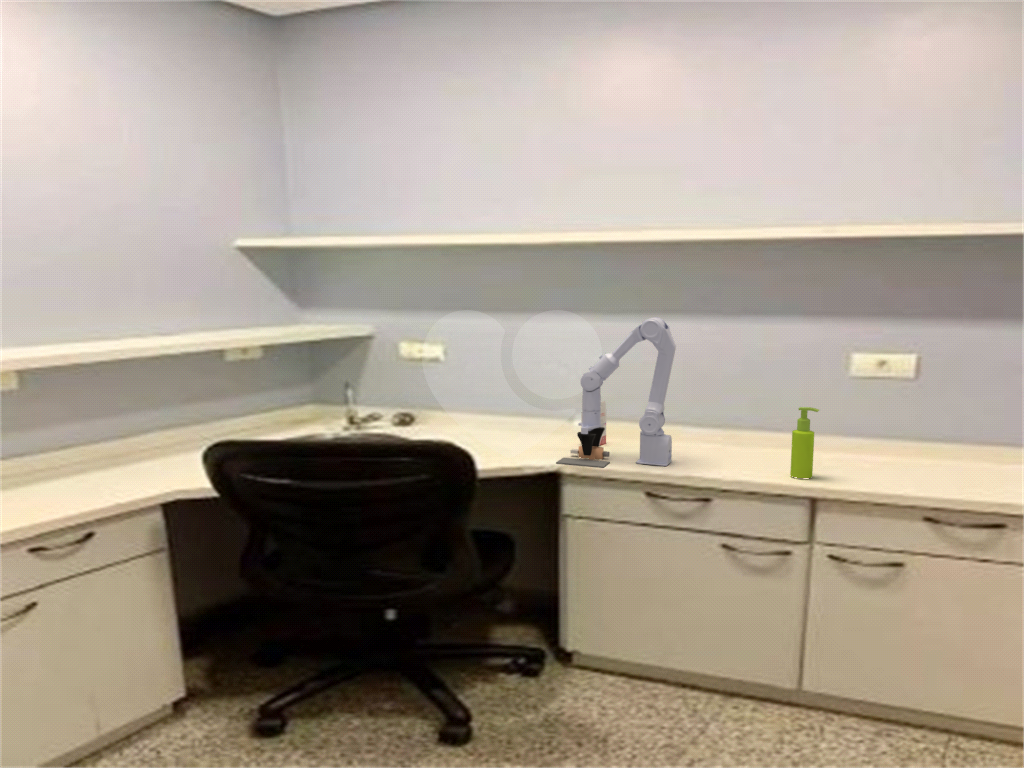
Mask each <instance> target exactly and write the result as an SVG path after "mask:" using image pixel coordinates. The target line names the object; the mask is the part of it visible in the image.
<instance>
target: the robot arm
mask: <svg viewBox="0 0 1024 768" xmlns="http://www.w3.org/2000/svg"><path fill="white" fill-rule="evenodd" d="M646 340H647V341H649V342H650V343H651V344H652V345H653V346H654V347H655V349H656V350H657V351H658V352H657V356H656V362H655V367H654V368H655V369H654V371H653V376H652V382H651V387H650V391H649V396H648V401H647V404H646V407H645V410H644V414H643V415H642V417H640V420H639V424H638V426H639V429H640V431H639V459H637V460H636V461H635V464H641V465H652V466H662V467H663V466H664V467H667V466H668V465H669V464H670V463H671V462H672V456H673V455H672V451H673V450H672V449H673V447H672V446H673V440H672V439H673V438H672V436H671V435H669V434H665V431H664V429H663V427H664V425H665V423H666V417H665V415H664V413H665V403H666V402H665V401H666V396H667V392H668V388H669V383H670V377H671V373H672V368H673V363H674V359H675V355H676V350H677V349H676V347H677V345H676V343H675V341H674V338H673V336H672V332H671V328H670V326H669V325H668V323H667V322H666V321H665V320H664V319H663V318H662V317H659V316H652V317H650V318H646V319H644V321H642V323H641V324H638V325H637V326H636V327H635V328H634V329H632V330H631V331H630V332H629V333H628V335H626V337H625V338H624V339H623V340H622V341H621V343H620V344H619V345H618V346H617V347H616V348H615V349H613V351H612V352H607V353H605V354H600V355H599V356H598V358H599V360H597V362H596V363H594V365H592V366H590V367H588V370H589V371H587V372H585V373H583V374H582V376H581V377H580V386H581V387H582V388H581V389H582V397H581V398H582V399H581V400H582V401H581V403H582V404H581V407H582V408H581V412H582V423H581V422H578V424H577V425H578V426H580V431H578V432H577V433H576V435H577V438H578V439H579V441H580V444H581V445H580V446H582V449H583V454H584V455H588V456H590V455H591V452H592V446H598V447H600V445H599V444H600V440H601V436H602V434H603V432H604V430H605V428H604V427H601V402H602V397H601V389H602V388H601V387H602V386H603V384H604V381H606V380H607V379H608V378H609V377H610V376H611V375H612V374H614V372H615V371H616V370H617V369H618V368H619V367H620V360H621V359H622V358H623V357H624V356H625V355H627V353H629V352H630V350H632V348H633V347H635V345H637V344H638V343H641V342H643V341H646ZM581 426H582V427H581Z"/></svg>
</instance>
